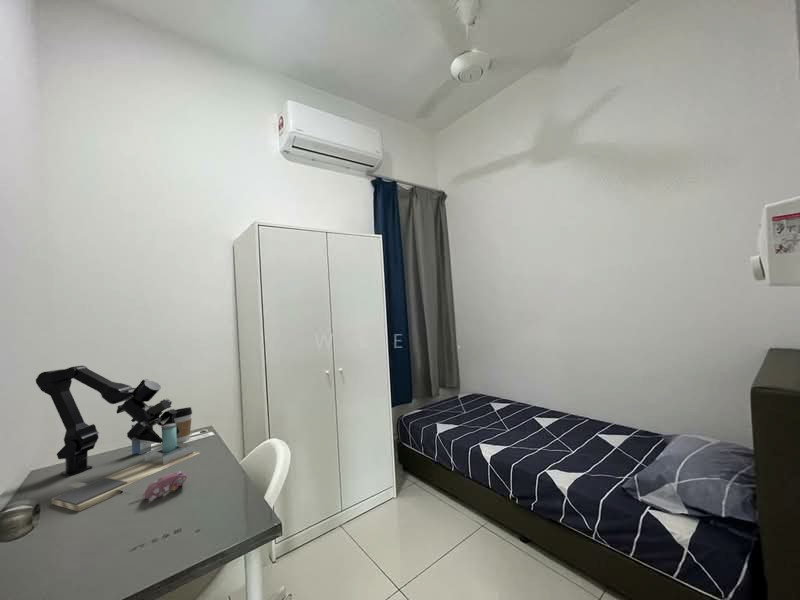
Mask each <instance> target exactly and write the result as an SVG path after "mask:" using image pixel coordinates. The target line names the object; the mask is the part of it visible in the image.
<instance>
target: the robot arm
mask: <svg viewBox="0 0 800 600" xmlns="http://www.w3.org/2000/svg"><path fill="white" fill-rule="evenodd" d="M73 379H74V380H76V381H77V382H79V383H81V384H83V385H85V386H87V387H89V388H91V389H93V390H94V391H96V392H98V393H100V396H101V398H102V399H103V400H105V402H107V403H109V404H111V405H115V404H119V403H122V402H123V403H122V404H120V405H118V406H117V409H116V414H120V413H123V412H124V413H126V414H128V416H130V417H131V420H130V421H131V422H132V423H134V422H136V423H135V424H133V425H134V426H133V427H132V426H131V429H129V430H128V432H127V433H126V437H127V438H128V439H129V440H130V441H132V440H133V439H135V440H144V441H150V442H151V443H157V444H162V442H163V440H162V437H161V436H159V434H158V433H156V431H155V430H154V426H155V425H158V426H160V428H161V429H162V426H164V425H167V424H172V423H175V420H174V419H175V416H176V413H177V411H175V410H176V409H174V408H172V403H173V402H172V400H170V399H168V398H164V399H162V400H160V401H159V402H158V403H156V404H155V405H153V404H151V405H148V404H147V403H145V402H149V401H151V400H152V398H154V397H155V395H156V394H157V393H158V392H159V391H160V390H161V387H162V386H161V384H159V383H158V382H155V381H154V380H149V379H148V378H145V379H142V380H141V381H140V383H139V384H138V385H137V386H136V387H132V386H131V385H129V384H126V383H121V382H114V381H111V380H110V379H108V378H106V377H104V376H102V375H100V374H99V373H97V372H95V371H93V370H91V369H89V368H88V367H87V366H85V365H76V366H70V367H67V368H64V369H62V368H61V369H55V370H49V371H43V372H41V373H39V374H38V375H37V376H36V378H35V383H36V385H37V387H38V388H39V390H40V391H41V392H43V393H45V394H47V395H49V396H50V398H51V400H52V402H53V404H54V406H55V409H56V410H57V413H58V415H59V418H60V420H61V422H62V424H63V426H64V428H65V435H64V437H63V442H64V445H63V447H62V448H61V449H59V451H58V452H57V453H56V456H57V457H56V458H57V459H58V460H65V462H64V464H65V466H64V467H65V470H64V471H61V472H60V475H64V476H68V477H69V476H73V475H75V474H78V473H81V472H85V471H87V470H89V469H92V468H93V466H92V465H89V463H88V460H89V459H88V457H89V456H88V453H89V451H90V450H94V448H95V445H96V443H97V442H98V439H99V434H100V432H99V431H98V430H97V427H96V425H95V424H94V423H92V424H90V425H89V424H87V423H86V422H85V421H84V418H83V416H82V414H81V412H80V409H79V407H78V405H77V403H76V401H75V399H74V396H73V394H72V391H71V390H70V389H71V385H72V380H73ZM170 408H171V409H170ZM165 410H166V411H165ZM163 411H164V412H163ZM178 433H179V429H178V427H177V425H176V434H178Z"/></svg>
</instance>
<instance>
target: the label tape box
mask: <svg viewBox="0 0 800 600" xmlns="http://www.w3.org/2000/svg"><path fill="white" fill-rule="evenodd" d="M134 425H135V424H133V423H132V424H131V428H132V427H133V426H134ZM149 452H152V442H150V441H144V440H135V439H133V440H131V453H132V454H131V455H135V454H138V455H144V454H147V453H149Z"/></svg>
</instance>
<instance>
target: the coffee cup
mask: <svg viewBox="0 0 800 600" xmlns="http://www.w3.org/2000/svg"><path fill="white" fill-rule="evenodd" d="M174 410H175V411H177V413H176V416H175V419H174V420H175V423H176V425H177V427H178V429H179V433H178V434H176V440H177V443H185V442H188V441H189V440H191V430H192V429H191V428H192V427H191V426H192V414H193V410H192V407H191V406H190V407H182V408H178V409H177V408H176V409H174Z"/></svg>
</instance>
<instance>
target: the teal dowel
mask: <svg viewBox="0 0 800 600" xmlns="http://www.w3.org/2000/svg"><path fill="white" fill-rule="evenodd" d="M161 427H162V428H161V439H162V440H163V442H162V443H161V448H162V453H168V452H171V451H173V450H176V449H177V440H176V423H172V424H167V425H164V426H161Z"/></svg>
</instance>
